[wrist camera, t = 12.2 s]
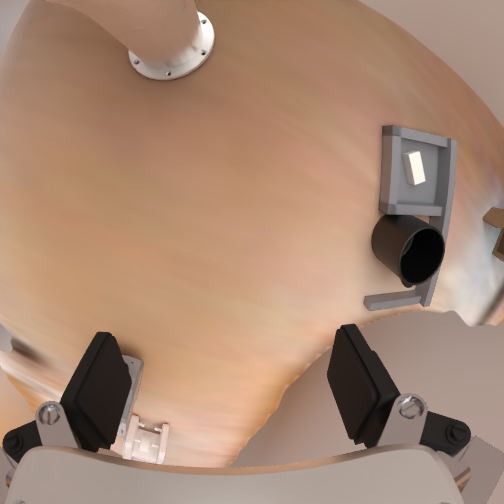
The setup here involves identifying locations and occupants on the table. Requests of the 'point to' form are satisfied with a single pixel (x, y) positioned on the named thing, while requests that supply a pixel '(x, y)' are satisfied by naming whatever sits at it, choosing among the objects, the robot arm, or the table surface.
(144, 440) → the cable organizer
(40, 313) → the table surface
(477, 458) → the robot arm
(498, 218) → the photo frame
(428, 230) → the mug
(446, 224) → the organizer
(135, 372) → the circuit breaker
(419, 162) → the eraser
